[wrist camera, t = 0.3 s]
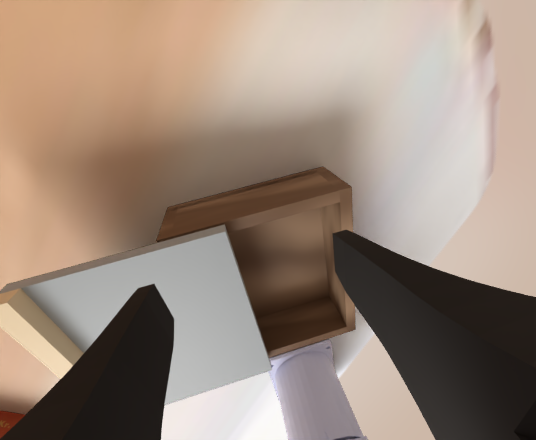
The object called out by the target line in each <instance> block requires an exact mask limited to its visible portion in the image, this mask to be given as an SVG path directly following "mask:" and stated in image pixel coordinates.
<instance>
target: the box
mask: <svg viewBox="0 0 536 440" xmlns="http://www.w3.org/2000/svg"><path fill="white" fill-rule="evenodd" d="M224 224H225V227H226V230H227V233H228V236H229V239H230V242H231V245H232V248H233V251H234V254H235V257H236V260H237V263H238V266H239V269H240V272H241V275H242V278H243V281H244V284H245V287H246V290H247V293H248V296H249V299H250V302H251V305H252V308H253V311H254V314H255V317H256V320H257V323H258V326H259V329H260V332H261V335H262V338H263V341H264V344H265V347H266V350H267V353H268V356H269V357H273V356H276V355H279V354H282V353H285V352H288V351H291V350H294V349H297V348H300V347H303V346H307V345H310V344H313V343H316V342H319V341H322V340H325V339H328V338H331V337H334V336H337V335H341V334H344V333H347V332H350V331H353V330H355V305H354V303H353V302H352V300H351V299H350V297H349V296H348V294H347V293H346V291H345V289H344V288H343V286H342V284H341V282H340V280H339V278H338V276H337V274H336V272H335V265H334V250H333V236H332V233H336V232H339V231H343V230H349V231H351V232H353V217H352V187H351V186H349V185H348V184H347V183H345V182H344V181H342V180H341V179H340V178H338V177H337V176H336V175H334V174H333V173H331V172H330V171H329V170H327V169H326V168H324V167H319V168H315V169H311V170H308V171H304V172H300V173H296V174H293V175H289V176H285V177H281V178H277V179H274V180H270V181H266V182H262V183H258V184H255V185H251V186H247V187H243V188H239V189H236V190H232V191H228V192H224V193H221V194H217V195H213V196H209V197H205V198H202V199H198V200H194V201H190V202H186V203H183V204H179V205H175V206H171V207H168V208H167V211H166V214H165V217H164V220H163V223H162V226H161V229H160V232H159V235H158V237H157V240H156V241H157V243H159V242H163V241H166V240H170V239H173V238H177V237H181V236H184V235H188V234H192V233H195V232H199V231H203V230H206V229H210V228H214V227H217V226H221V225H224Z"/></svg>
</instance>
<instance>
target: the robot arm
mask: <svg viewBox="0 0 536 440" xmlns="http://www.w3.org/2000/svg"><path fill="white" fill-rule="evenodd" d="M332 236H333V250H334V265H335V272H336V274H337V276H338V278H339V280H340V282H341V284H342V286H343V288H344V289H345V291H346V293H347V294H348V296H349V297H350V299H351V300H352V302H353V303H354V305H355V306H356V307H357V309H358V310H359V312H360V313H361V314H362V316H363V317H364V319H365V320H366V322H367V323H368V324H369V326H370V327H371V329H372V330H373V331H374V333H375V334H376V336H377V337H378V338H379V340H380V341H381V343H382V344H383V346H384V347H385V349H386V351H387V352H388V354H389V356H390V358H391V359H392V361H393V363H394V364H395V366H396V368H397V370H398V371H399V373H400V375H401V377H402V378H403V380H404V382H405V384H406V385H407V387H408V389H409V391H410V393H411V394H412V396H413V398H414V400H415V402H416V404H417V405H418V407H419V409H420V411H421V413H422V415H423V417H424V418H425V420H426V422H427V424H428V426H429V428H430V430H431V432H432V434H433V435H434V437H435V439H436V440H536V297H533V296H528V295H524V294H520V293H516V292H511V291H507V290H503V289H500V288H496V287H492V286H489V285H485V284H481V283H477V282H474V281H471V280H467V279H464V278H461V277H458V276H455V275H452V274H449V273H446V272H443V271H440V270H437V269H434V268H432V267H429V266H426V265H424V264H421V263H419V262H416V261H414V260H411V259H409V258H406V257H404V256H402V255H400V254H397V253H395V252H393V251H391V250H388V249H386V248H384V247H382V246H380V245H378V244H376V243H374V242H372V241H370V240H368V239H365V238H363V237H361V236H359V235H357V234H355V233H353V232H351V231H349V230H343V231H339V232H336V233H332ZM173 346H174V317H173V316H172V314H171V312H170V310H169V309H168V307H167V305H166V303H165V302H164V300H163V298H162V296H161V295H160V293H159V291H158V289H157V288H156V286H155V284H151V285H147V286H144V287H140V288H138V289H137V290H136V291H135V292H134V293H133V294H132V296H131V297H130V298H129V299H128V300H127V302H126V303H125V304H124V305H123V307H122V308H121V309H120V310H119V312H118V313H117V314H116V315H115V317H114V318H113V319H112V320H111V322H110V323H109V324H108V325H107V327H106V328H105V329H104V330H103V331H102V333H101V334H100V335H99V336H98V338H97V339H96V340H95V341H94V342H93V343H92V345H91V346H90V347H89V348H88V349H87V350H86V351H85V353H84V354H83V355H82V356H81V357H80V358H79V359H78V361H77V362H76V363H75V364H74V365H73V366H72V367H71V369H70V370H69V371H68V372H67V373H66V374H65V375H64V376H63V377H62V378H61V379H60V381H59V382H58V383H57V384H56V385H55V386H54V387H53V388H52V389H51V390H50V391H49V392H48V393H47V394H46V395H45V396H44V397H43V398H42V399H41V400H40V401H39V402H38V403H37V404H36V405H35V406H34V407H33V408H32V409H31V410H30V411H29V412H28V413H27V414H26V415H25V416H24V417H23V418H22V419H21V420H20V421H19V422H18V423H16V424H15V425H14V426H13V427H12V428H11V429H10V430H9V431H8V432H7V433H6V434H5V435H4V436H3V437H1V438H0V440H161V428H162V419H163V411H164V404H165V398H166V392H167V385H168V379H169V373H170V366H171V360H172V353H173ZM269 359H270V362H271V367H272V370H271V371H269V374H270V377H271V380H272V382H273V385H274V388H275V391H276V394H277V397H278V400H279V401H280V405H281V409H282V414H283V418H284V423H285V427H286V432H287V436H288V440H368V439H367V437H366V436H363V434H362V431H361V429H360V427H359V425H358V423H357V420H356V418H355V415H354V413H353V411H352V409H351V407H350V404H349V402H348V399H347V397H346V395H345V393H344V391H343V388H342V386H341V384H340V381H339V379H338V377H337V374H336V372H335V370H334V361H333V352H332V343H331V341H330V340H325V341H322V342H319V343H315V344H312V345H309V346H306V347H303V348H300V349H297V350H294V351H291V352H288V353H285V354H281V355H278V356H275V357H272V358H269Z"/></svg>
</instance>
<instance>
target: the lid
mask: <svg viewBox="0 0 536 440" xmlns="http://www.w3.org/2000/svg"><path fill="white" fill-rule="evenodd" d="M151 284H155V286H156V288H157V289H158V291H159V293H160V295H161V296H162V298H163V300H164V302H165V303H166V305H167V307H168V309H169V310H170V312H171V314H172V316H173V317H174V346H173V353H172V360H171V366H170V373H169V379H168V385H167V392H166V398H165V404H164V405H167V404H170V403H173V402H176V401H179V400H182V399H185V398H188V397H191V396H194V395H197V394H200V393H204V392H207V391H210V390H213V389H216V388H219V387H222V386H225V385H228V384H231V383H234V382H237V381H240V380H243V379H246V378H249V377H252V376H255V375H258V374H261V373H265V372H268V371H271V370H272V367H271V362H270V359H269V356H268V353H267V350H266V347H265V344H264V341H263V338H262V335H261V332H260V329H259V326H258V323H257V320H256V317H255V314H254V311H253V308H252V305H251V302H250V299H249V296H248V293H247V290H246V287H245V284H244V281H243V278H242V275H241V272H240V269H239V266H238V263H237V260H236V257H235V254H234V251H233V248H232V245H231V242H230V239H229V236H228V233H227V230H226V227H225V224H224V225H221V226H217V227H214V228H210V229H206V230H203V231H199V232H195V233H192V234H188V235H184V236H181V237H177V238H173V239H170V240H166V241H163V242H159V243H155V244H152V245H148V246H144V247H141V248H137V249H133V250H130V251H126V252H122V253H119V254H115V255H112V256H108V257H104V258H101V259H97V260H93V261H90V262H86V263H82V264H79V265H75V266H71V267H68V268H64V269H61V270H57V271H53V272H50V273H46V274H42V275H39V276H35V277H31V278H28V279H24V280H20V281H17V282H13V283H9V284H7V285H6V286H5V287H4V288H3V289H2V290H1V291H0V327H1V328H2V329H3V330H4V331H5V332H6V333H8V334H9V335H10V336H11V337H12V338H13V339H14V340H16V341H17V342H18V343H19V344H20V345H21V346H23V347H24V348H25V349H26V350H27V351H28V352H30V353H31V354H32V355H33V356H34V357H35V358H37V359H38V360H39V361H40V362H41V363H42V364H43V365H45V366H46V367H47V368H48V369H49V370H50V371H52V372H53V373H54V374H55V375H56V376H57V377H59V378H60V379H61V378H62V377H63V376H64V375H65V374H66V373H67V372H68V371H69V370H70V369H71V367H72V366H73V365H74V364H75V363H76V362H77V361H78V359H79V358H80V357H81V356H82V355H83V354H84V353H85V351H86V350H87V349H88V348H89V347H90V346H91V345H92V343H93V342H94V341H95V340H96V339H97V338H98V336H99V335H100V334H101V333H102V331H103V330H104V329H105V328H106V327H107V325H108V324H109V323H110V322H111V320H112V319H113V318H114V317H115V315H116V314H117V313H118V312H119V310H120V309H121V308H122V307H123V305H124V304H125V303H126V302H127V300H128V299H129V298H130V297H131V296H132V294H133V293H134V292H135V291H136V290H137V289H138V288H140V287H144V286H147V285H151Z"/></svg>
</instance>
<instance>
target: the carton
mask: <svg viewBox="0 0 536 440" xmlns="http://www.w3.org/2000/svg"><path fill="white" fill-rule="evenodd" d="M24 416H25V415H24V414H18V413H12V412H6V411H0V438H1V437H3V436H4V435H5V434H6V433H7V432H8V431H9V430H10V429H11V428H12V427H13V426H14V425H15V424H16V423H18V422H19V421H20V420H21V419H22V418H23V417H24Z"/></svg>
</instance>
